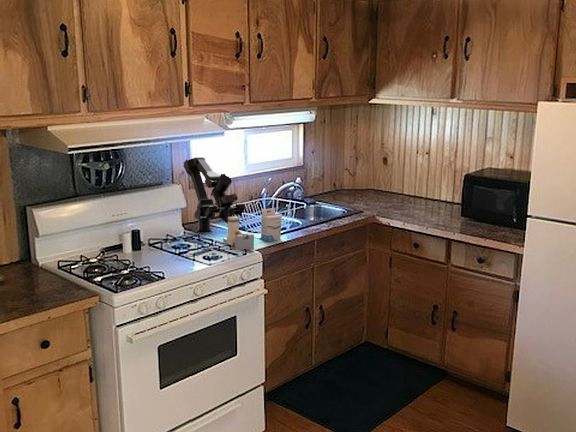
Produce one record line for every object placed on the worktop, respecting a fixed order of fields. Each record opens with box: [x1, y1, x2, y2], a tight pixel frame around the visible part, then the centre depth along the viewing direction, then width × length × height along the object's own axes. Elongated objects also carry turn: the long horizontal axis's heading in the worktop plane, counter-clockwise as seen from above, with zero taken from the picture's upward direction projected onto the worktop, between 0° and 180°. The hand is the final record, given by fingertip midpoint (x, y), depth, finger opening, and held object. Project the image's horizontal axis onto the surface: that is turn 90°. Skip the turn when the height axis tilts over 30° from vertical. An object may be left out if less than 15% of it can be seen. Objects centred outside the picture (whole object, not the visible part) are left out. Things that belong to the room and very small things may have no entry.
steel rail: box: [222, 237, 235, 247], centre depth 286 cm, size 16×3×1 cm, turn 33°
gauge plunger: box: [235, 230, 247, 239], centre depth 280 cm, size 8×2×2 cm, turn 33°
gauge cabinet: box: [234, 233, 255, 251], centre depth 278 cm, size 4×8×6 cm, turn 123°
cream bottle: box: [226, 215, 240, 246], centre depth 285 cm, size 5×5×12 cm
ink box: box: [260, 207, 282, 242], centre depth 296 cm, size 8×5×15 cm, turn 131°
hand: (231, 225), depth 287 cm, fingers closed, pressing on cream bottle
